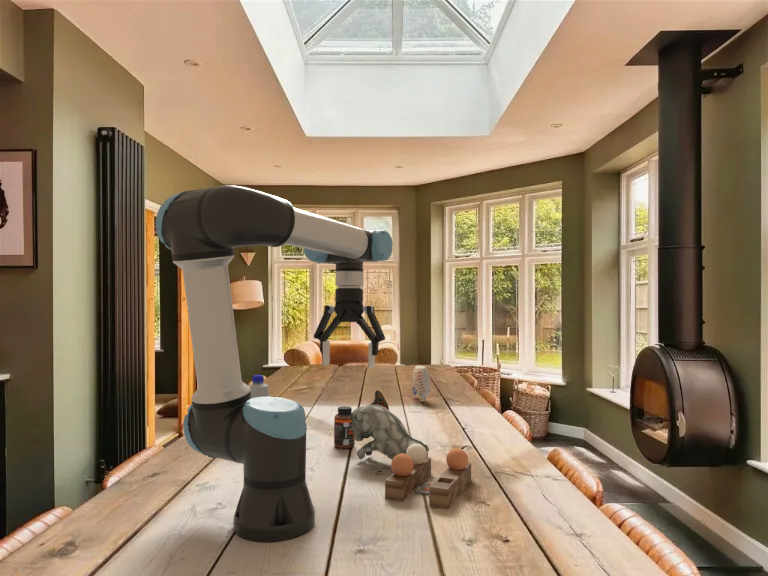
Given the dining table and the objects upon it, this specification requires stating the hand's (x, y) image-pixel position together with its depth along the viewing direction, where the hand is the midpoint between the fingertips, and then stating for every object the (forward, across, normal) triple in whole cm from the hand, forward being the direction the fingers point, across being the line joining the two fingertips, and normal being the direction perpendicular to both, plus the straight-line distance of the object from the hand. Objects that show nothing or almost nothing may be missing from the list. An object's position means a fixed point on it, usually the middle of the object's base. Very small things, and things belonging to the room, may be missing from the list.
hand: (348, 366), depth 146 cm
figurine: (+24, -12, 0) cm, 27 cm away
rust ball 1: (+19, -22, +18) cm, 34 cm away
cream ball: (+19, -22, +9) cm, 31 cm away
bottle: (+25, +32, -5) cm, 41 cm away
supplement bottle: (+25, +6, -10) cm, 27 cm away
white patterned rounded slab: (+24, +6, -82) cm, 85 cm away
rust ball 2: (+19, -32, +10) cm, 39 cm away
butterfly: (+24, +7, -42) cm, 49 cm away
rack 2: (+25, -32, +14) cm, 43 cm away
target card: (+25, -27, +14) cm, 39 cm away
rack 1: (+25, -22, +14) cm, 36 cm away
